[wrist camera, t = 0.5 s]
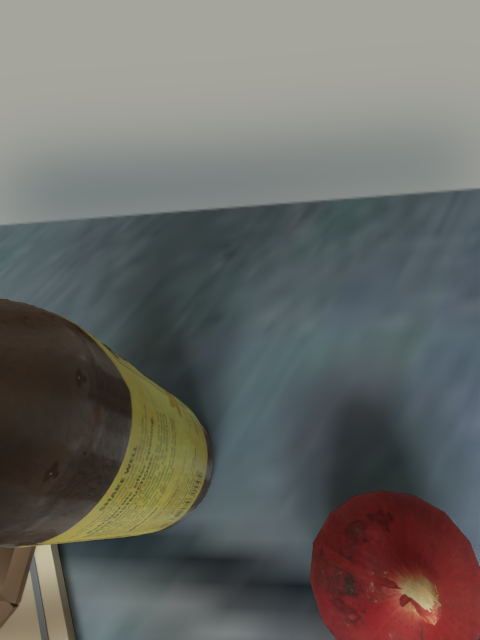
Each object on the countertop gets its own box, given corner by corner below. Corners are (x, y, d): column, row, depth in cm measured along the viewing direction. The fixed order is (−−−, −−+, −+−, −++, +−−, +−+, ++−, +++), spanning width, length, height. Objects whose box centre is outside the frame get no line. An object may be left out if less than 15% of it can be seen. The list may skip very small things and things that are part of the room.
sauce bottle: (211, 394, 24) (-114, 15, 6) (223, 524, 21) (-281, 568, 3) (93, 412, 25) (-532, 121, 6) (92, 541, 22) (-948, 661, 4)
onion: (306, 631, 19) (300, 700, 12) (317, 486, 21) (317, 471, 14) (454, 661, 18) (546, 757, 11) (450, 505, 20) (525, 499, 13)
